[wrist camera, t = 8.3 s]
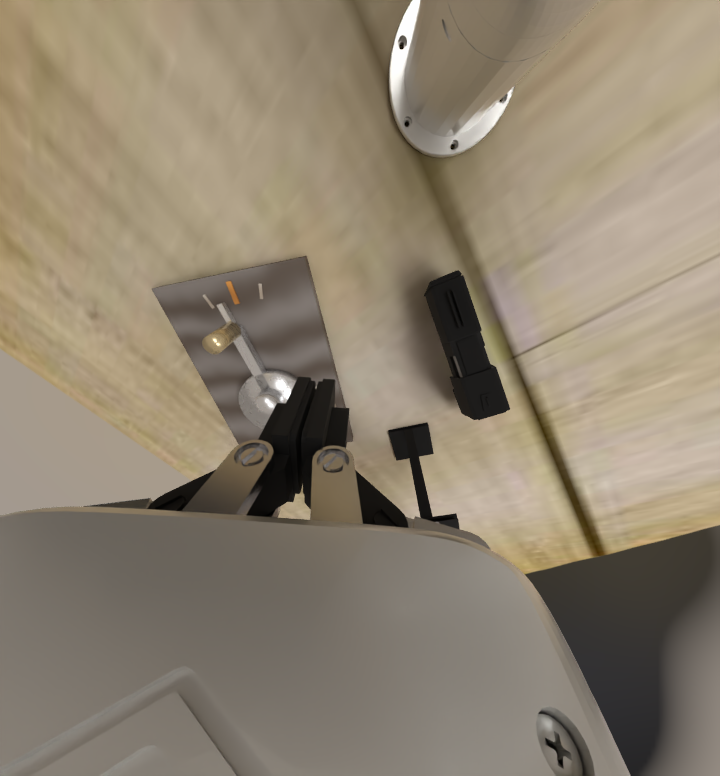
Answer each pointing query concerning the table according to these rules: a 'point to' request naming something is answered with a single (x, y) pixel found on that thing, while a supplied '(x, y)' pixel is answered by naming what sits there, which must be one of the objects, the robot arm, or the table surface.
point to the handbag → (418, 466)
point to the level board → (253, 331)
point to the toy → (465, 348)
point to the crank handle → (262, 384)
